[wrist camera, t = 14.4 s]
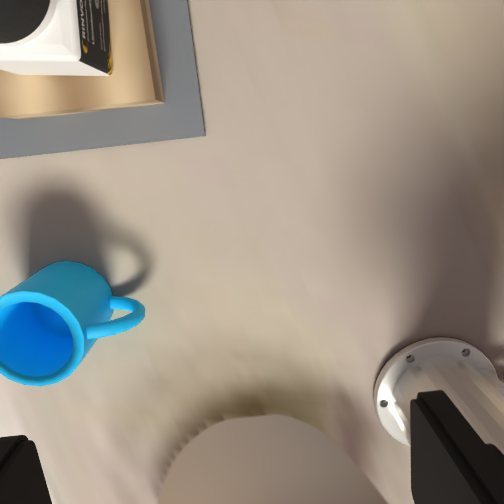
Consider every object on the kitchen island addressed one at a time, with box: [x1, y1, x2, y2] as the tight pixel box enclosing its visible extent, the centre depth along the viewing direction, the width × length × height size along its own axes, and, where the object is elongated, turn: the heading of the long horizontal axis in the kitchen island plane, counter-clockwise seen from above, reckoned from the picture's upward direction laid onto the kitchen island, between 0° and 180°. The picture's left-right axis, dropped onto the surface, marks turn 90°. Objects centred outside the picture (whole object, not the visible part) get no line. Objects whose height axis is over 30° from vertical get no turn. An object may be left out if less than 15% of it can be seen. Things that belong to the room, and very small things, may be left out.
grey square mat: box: [0, 0, 205, 159], centre depth 35 cm, size 18×18×1 cm
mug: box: [0, 261, 145, 386], centre depth 38 cm, size 12×8×8 cm
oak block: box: [0, 0, 165, 119], centre depth 33 cm, size 12×12×4 cm
